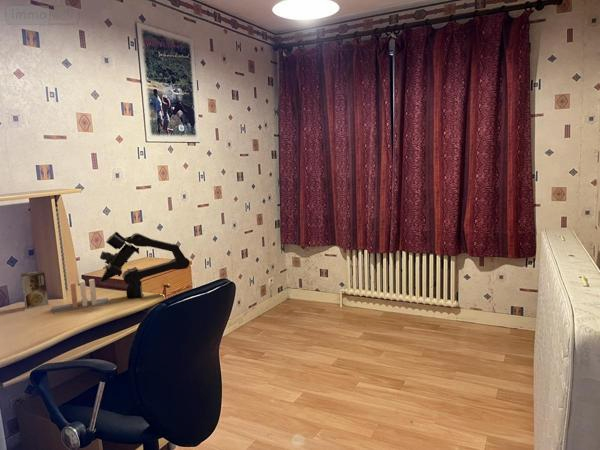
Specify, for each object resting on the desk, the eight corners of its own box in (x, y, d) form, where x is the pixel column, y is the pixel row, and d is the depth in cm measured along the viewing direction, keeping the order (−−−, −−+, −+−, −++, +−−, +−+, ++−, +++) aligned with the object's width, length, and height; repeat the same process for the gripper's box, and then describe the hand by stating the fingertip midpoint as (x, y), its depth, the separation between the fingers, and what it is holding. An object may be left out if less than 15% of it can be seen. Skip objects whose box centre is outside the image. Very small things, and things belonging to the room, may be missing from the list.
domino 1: (77, 304, 208) (74, 281, 207) (77, 307, 204) (75, 283, 202) (72, 305, 207) (70, 282, 206) (72, 308, 203) (70, 284, 201)
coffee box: (46, 302, 214) (42, 270, 212) (49, 305, 210) (45, 272, 207) (24, 307, 209) (20, 273, 207) (26, 310, 204) (22, 275, 202)
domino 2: (86, 302, 210) (84, 280, 208) (87, 305, 206) (85, 282, 204) (82, 303, 209) (79, 280, 207) (82, 306, 205) (80, 283, 203)
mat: (107, 299, 217) (107, 297, 217) (110, 304, 208) (110, 303, 207) (52, 308, 206) (51, 306, 206) (51, 314, 196) (51, 313, 196)
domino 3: (96, 301, 212) (93, 278, 210) (96, 304, 207) (94, 281, 206) (91, 302, 211) (89, 279, 209) (92, 304, 207) (89, 281, 205)
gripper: (107, 242, 218) (85, 267, 214) (112, 248, 202) (87, 275, 198) (126, 255, 223) (104, 280, 219) (131, 262, 207) (108, 289, 203)
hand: (101, 281), depth 210 cm, fingers closed
